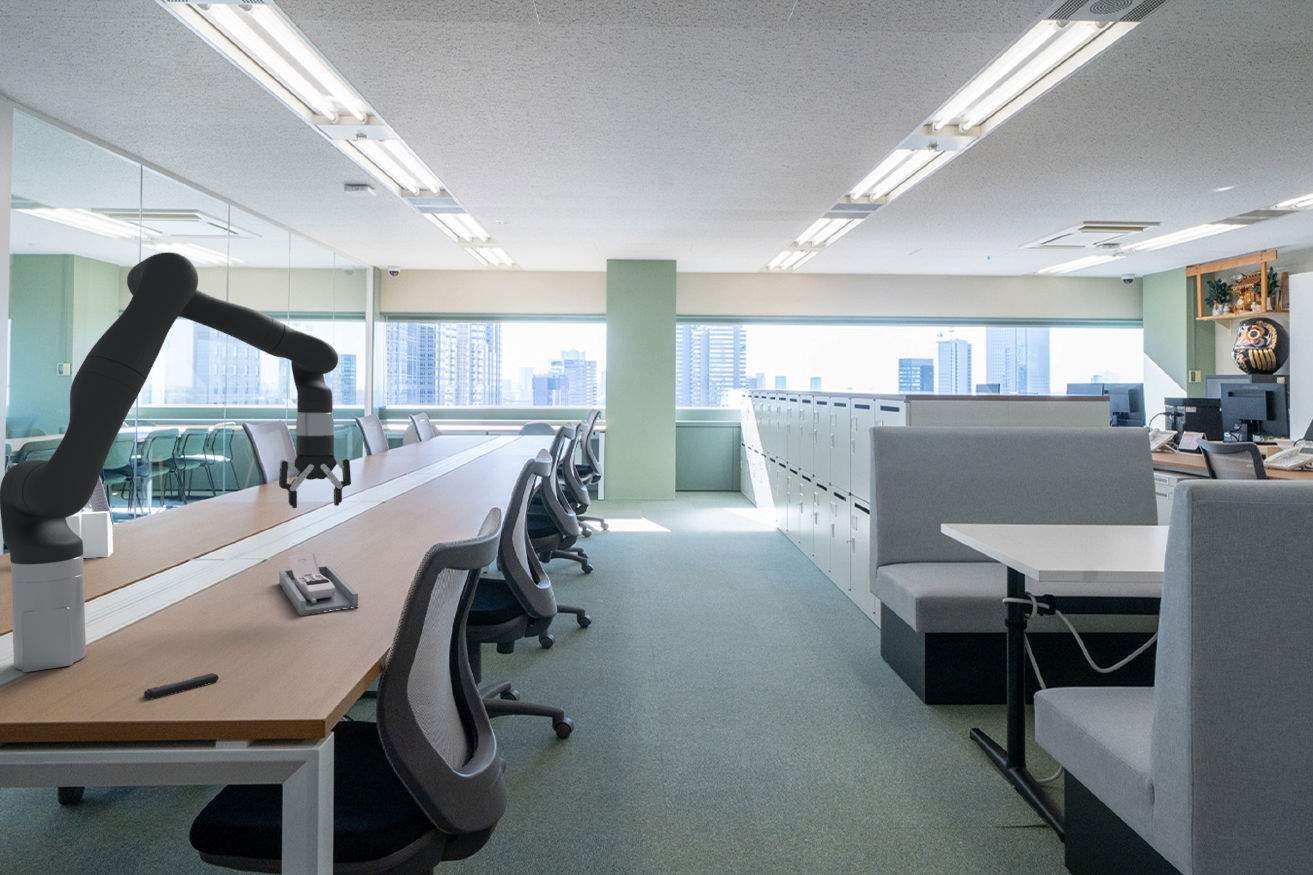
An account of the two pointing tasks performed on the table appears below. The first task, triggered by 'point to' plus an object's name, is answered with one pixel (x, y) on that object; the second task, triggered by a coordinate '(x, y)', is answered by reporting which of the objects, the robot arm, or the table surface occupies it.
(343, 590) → the phone dock
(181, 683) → the dark grey rounded bar
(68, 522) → the corner bracket
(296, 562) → the mobile phone
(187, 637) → the table surface
